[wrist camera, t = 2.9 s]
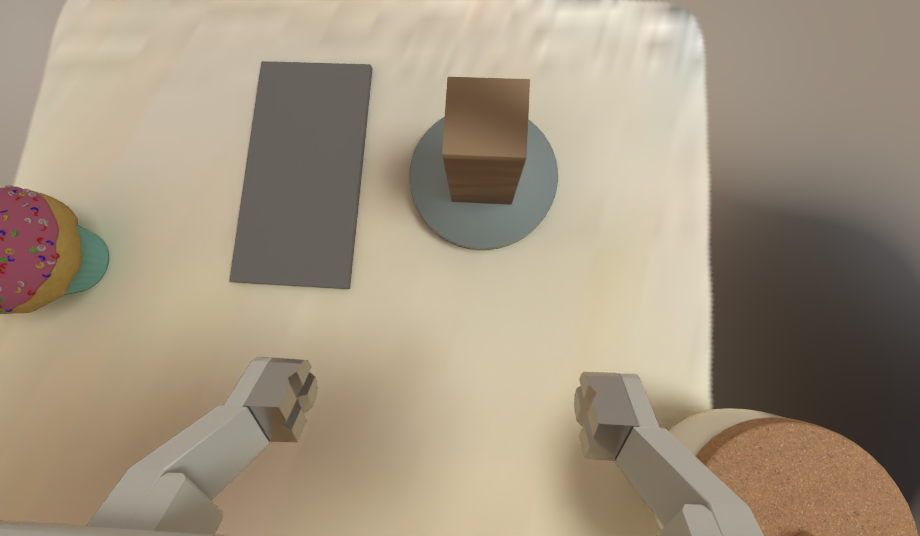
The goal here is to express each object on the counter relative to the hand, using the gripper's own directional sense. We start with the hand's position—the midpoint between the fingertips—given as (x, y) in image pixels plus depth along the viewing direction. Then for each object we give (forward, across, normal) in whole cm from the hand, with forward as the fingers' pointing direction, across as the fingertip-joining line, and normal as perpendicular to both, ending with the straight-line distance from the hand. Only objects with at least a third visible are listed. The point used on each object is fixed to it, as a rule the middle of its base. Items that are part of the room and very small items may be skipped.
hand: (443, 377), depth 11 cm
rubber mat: (+20, +13, +2) cm, 24 cm away
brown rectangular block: (+19, -1, +2) cm, 19 cm away
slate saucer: (+20, -1, +2) cm, 20 cm away
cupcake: (+15, +30, +8) cm, 34 cm away
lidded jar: (+6, -17, +17) cm, 25 cm away
